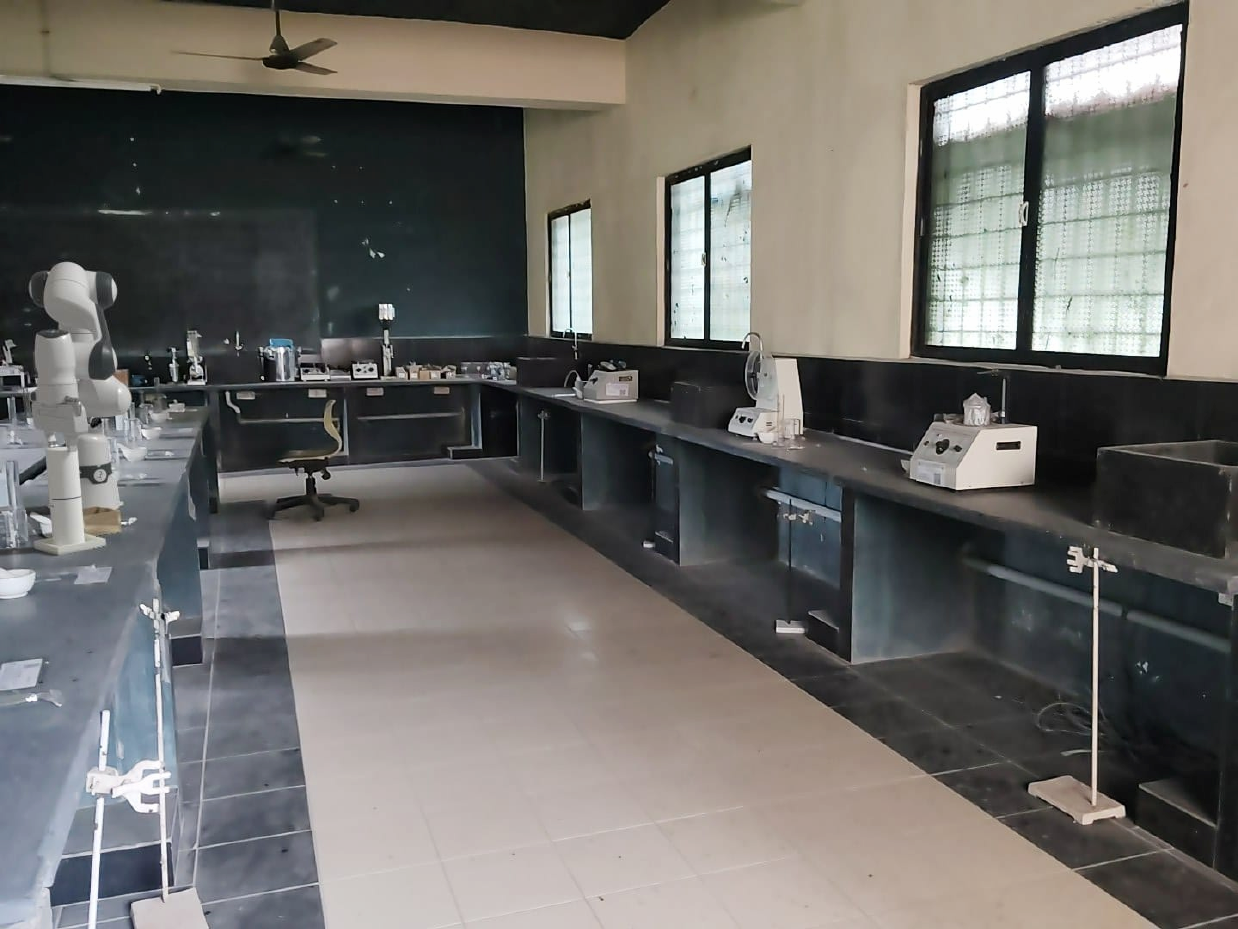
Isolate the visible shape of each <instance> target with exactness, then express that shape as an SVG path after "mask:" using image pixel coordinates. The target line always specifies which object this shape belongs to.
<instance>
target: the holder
mask: <svg viewBox="0 0 1238 929" xmlns="http://www.w3.org/2000/svg"><path fill="white" fill-rule="evenodd" d="M82 512H83V525H84V533H85V534H89V535H93V536H97V537H100V536H99V535H102V536H104V535H103V534H108V535H112V534H111V533H113V534H118V533H117V532H119V533H123V532H122V531H123V530H122V514H121V510H119V509H112V508H107V507H103V506H95V507H89V508H83V509H82Z"/></svg>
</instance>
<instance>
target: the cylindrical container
mask: <svg viewBox="0 0 1238 929" xmlns="http://www.w3.org/2000/svg"><path fill="white" fill-rule="evenodd" d="M44 452H45V461H46V474H47V485H48V486H47V488H48V499H49V504H50V509H49V510H50V523H51V532H52V533H51V534H52V538H53V545H55V546H59V547H61V546H66V545H71V544H77V543H82V542H85V538H84V525H83V512H82V500H81V487H80V474H79V462H78V450H77V451H76V452H68V451H67V447H66V446H58V447H55V448H49V447H48V448H46V449H45V450H44Z"/></svg>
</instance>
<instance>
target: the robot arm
mask: <svg viewBox="0 0 1238 929" xmlns="http://www.w3.org/2000/svg"><path fill="white" fill-rule="evenodd" d="M28 284H29V285H28V291H29V295H30V297H31V299H32V301H33V303H34V304H35V305H36V306H37V307H39V308H44V309H45V312H46V313H47V315H48V316H49V317H51V319H53V320H54V321H55V322H56V323H58V329H52V328H51V329H44V330H41V331H39V332H37V333H36V335H35V341H34V343H35V344H34V351H33V352H32V364H33V365H32V366H33V371H34V372H36V374H37V381H36V384H37V385H36V387H37V388H36V389H34V390H33V391H30V392H29V393H28V394H29V395H28V398H29V401H30V402H32V403H31V414H32V421H33V425H34V427H35V429H36V430H40V431H43V433H44V438H45V439H46V441H47V447H48V448H55V447H59V442H58V440H57V439H56V436H55V435H56V433H58V434H62V436H63V439H64V442H65V447H67V451H68V452H76V451H77V450H78V462H79V474H80V487H81V500H82V509H83V508H89V507H95V506H103V507H107V508H112V509H116V510H119V508H120V507H121V506H124V501H122V500H120V495H119V489H118V483H117V479H115V478H114V477H113V476H112V475H113V466H112V462H111V461H110V449H109V448H110V447H109V439H108V438H107V435H105V434H104V433H103V432H102V431H100V430H98V429H95V428H94V427H91V426H90V424H89V423H88V419H87V418H111V417H117V416H121V415H125V414H126V413H127V412H128V411H129V410H130V408H131V405H132V394H131V392H130V391H131V390H129V388H128V386H126V384H125V383H123V382H121V381H120V380H119V379H117V377H115V376H114V374H115V373H116V371H117V368H118V359H117V358H118V357H117V354H116V352H115V350H114V348H113V345H112V342H111V338H110V334H109V330H108V325H107V320H106V318H105V313H104V312H105V310H107V309H109V308H110V307H111V306H113V305H114V304H115V301H116V299H117V295H118V288H117V287H118V286H117V284H116V282H115V280H114V278H113V276H112V275H111V274H110V273H108V272H105V271H100V270H97V271H90V270H85V269H84V268H83V267H82V266H80V265H79V264H76V263H74V262H70V261H63V262H60V263H57V264H55V265H53V267H52V268H51V270H50V271H49V270H42V271H37V272H35V273H34V274H33V275H32V276H31V279H30V281H29V283H28ZM47 507H48V509H49V510H50V503H49V504H47Z"/></svg>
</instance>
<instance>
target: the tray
mask: <svg viewBox="0 0 1238 929" xmlns="http://www.w3.org/2000/svg"><path fill="white" fill-rule="evenodd" d="M84 538H85V542H82V543H77V544H71V545H66V546H61V547H59V546H55V545H53V537H49V538H43V539H38V540H34V541H33V545H34V550H38V551H40V552H41V551H42V552H45V553H48V554H51V555H55V556H64V555H68V554H69V553H70V554H74V552H75V553H79V552H85V551H88V550H94V549H93V548H95V549H99V548H98V547H100V548H103V547H102V546H105V547H107V542H106V541H107V540H106V538H103V537H101V536H97V537H96V536H93V535H89V534H85V533H84Z"/></svg>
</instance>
